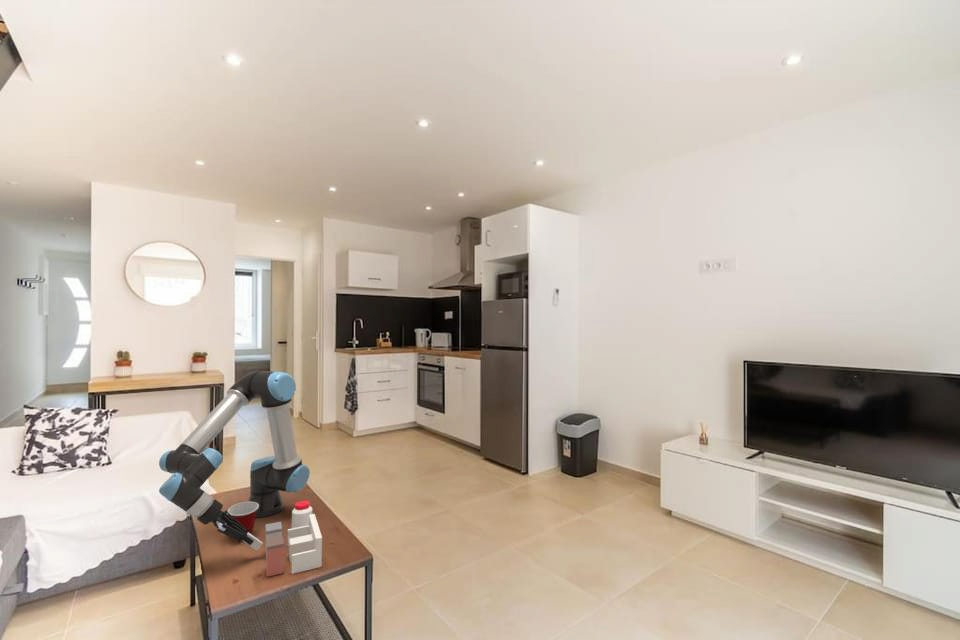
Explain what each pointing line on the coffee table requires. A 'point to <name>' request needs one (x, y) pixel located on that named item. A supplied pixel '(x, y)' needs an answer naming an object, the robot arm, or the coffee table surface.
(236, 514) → the plastic cup
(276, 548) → the capped red pillar
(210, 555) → the coffee table surface
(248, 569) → the coffee table surface
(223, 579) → the coffee table surface
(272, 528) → the grey capped white pillar
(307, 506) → the pill bottle
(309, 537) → the rack
